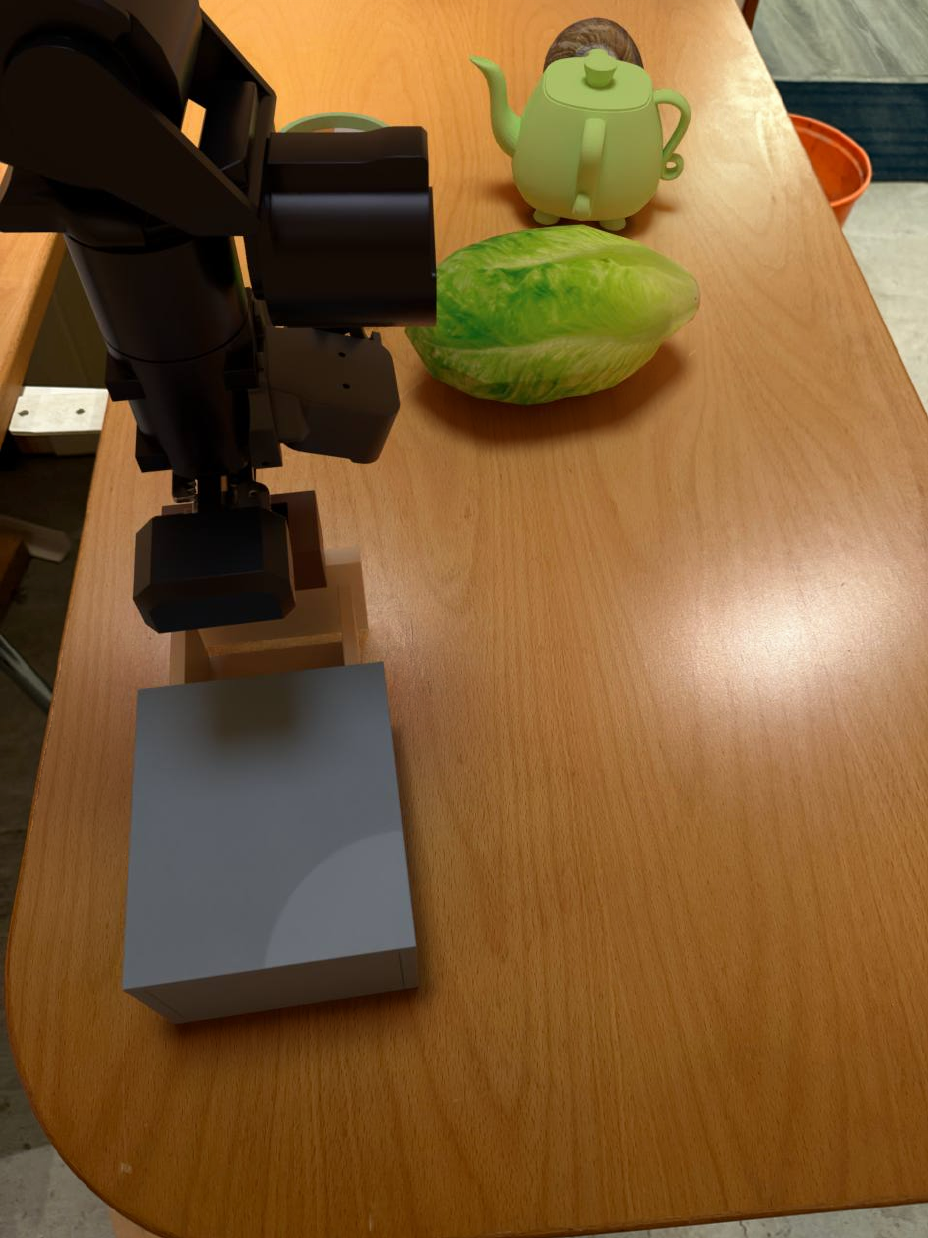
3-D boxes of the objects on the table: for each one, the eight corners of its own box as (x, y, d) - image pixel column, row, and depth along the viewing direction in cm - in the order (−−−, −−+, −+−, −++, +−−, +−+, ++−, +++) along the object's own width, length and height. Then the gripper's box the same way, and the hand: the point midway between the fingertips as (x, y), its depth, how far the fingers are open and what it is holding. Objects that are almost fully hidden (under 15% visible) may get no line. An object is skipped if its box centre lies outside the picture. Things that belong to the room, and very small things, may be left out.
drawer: (189, 578, 59) (161, 507, 53) (361, 561, 61) (353, 489, 55) (184, 837, 50) (150, 787, 44) (388, 810, 51) (382, 758, 45)
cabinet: (179, 761, 53) (137, 688, 46) (390, 735, 55) (383, 660, 47) (173, 1024, 46) (121, 990, 38) (419, 987, 47) (416, 946, 39)
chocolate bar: (327, 587, 48) (320, 548, 46) (176, 605, 48) (159, 566, 45) (322, 530, 51) (315, 489, 48) (177, 546, 50) (161, 505, 47)
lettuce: (708, 414, 70) (753, 288, 61) (424, 458, 67) (422, 332, 57) (652, 309, 77) (684, 179, 67) (391, 344, 74) (385, 213, 64)
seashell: (550, 135, 92) (559, 51, 85) (530, 87, 97) (538, 5, 90) (656, 127, 93) (673, 44, 86) (631, 81, 98) (646, -1, 91)
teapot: (549, 271, 80) (567, 129, 69) (462, 190, 86) (466, 48, 75) (687, 215, 85) (723, 75, 74) (596, 142, 91) (617, 4, 80)
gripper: (410, 469, 31) (418, 686, 44) (358, 164, 41) (377, 415, 54) (76, 504, 30) (187, 716, 43) (106, 181, 40) (188, 434, 53)
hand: (246, 554), depth 48 cm, fingers closed on chocolate bar, 4 cm apart
